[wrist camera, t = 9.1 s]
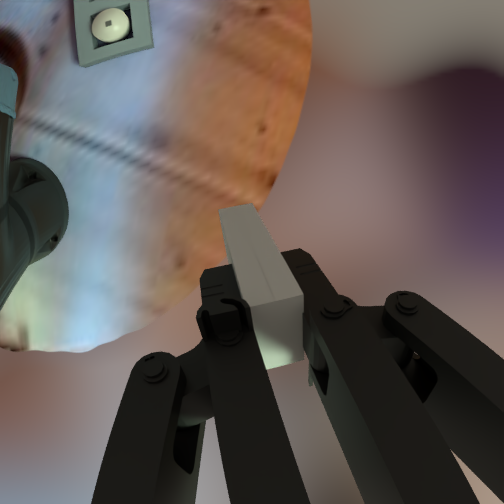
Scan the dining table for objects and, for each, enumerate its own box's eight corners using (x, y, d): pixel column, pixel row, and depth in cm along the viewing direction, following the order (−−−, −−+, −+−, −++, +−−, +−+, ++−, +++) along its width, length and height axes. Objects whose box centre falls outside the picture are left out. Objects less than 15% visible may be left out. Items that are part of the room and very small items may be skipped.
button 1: (100, 48, 26) (92, 44, 24) (97, 20, 24) (90, 14, 21) (132, 38, 27) (127, 33, 24) (129, 10, 25) (124, 3, 22)
